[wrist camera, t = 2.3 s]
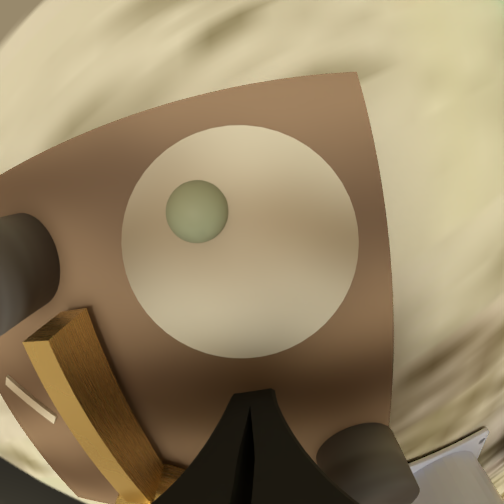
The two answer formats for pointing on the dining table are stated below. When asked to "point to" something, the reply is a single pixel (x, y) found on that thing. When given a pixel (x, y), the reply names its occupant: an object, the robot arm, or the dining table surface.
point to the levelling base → (214, 276)
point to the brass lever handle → (97, 407)
